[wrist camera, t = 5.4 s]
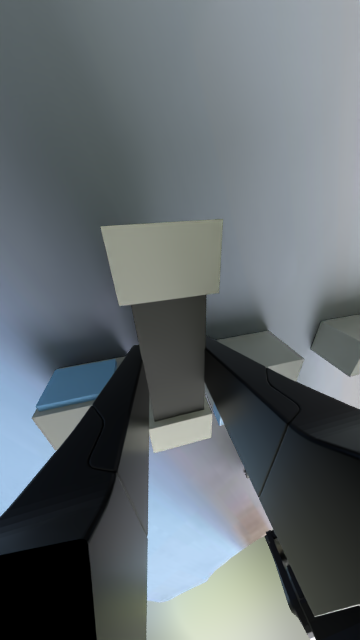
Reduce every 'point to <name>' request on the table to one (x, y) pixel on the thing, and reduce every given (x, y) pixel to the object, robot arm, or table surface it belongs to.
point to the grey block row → (263, 347)
